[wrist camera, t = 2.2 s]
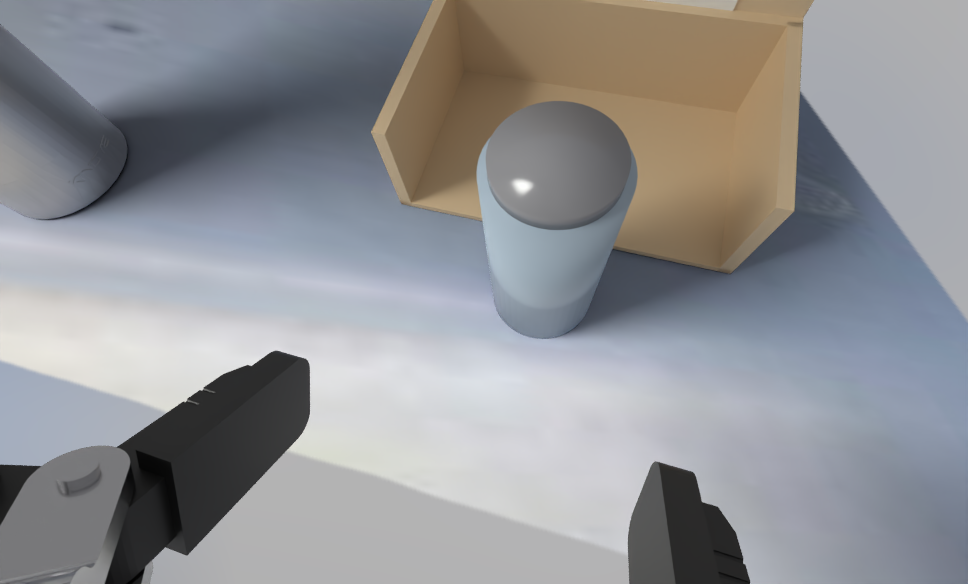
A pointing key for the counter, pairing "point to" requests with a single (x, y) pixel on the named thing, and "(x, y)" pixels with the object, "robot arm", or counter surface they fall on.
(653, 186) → the mailer
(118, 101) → the counter surface
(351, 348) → the counter surface
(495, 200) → the canister
